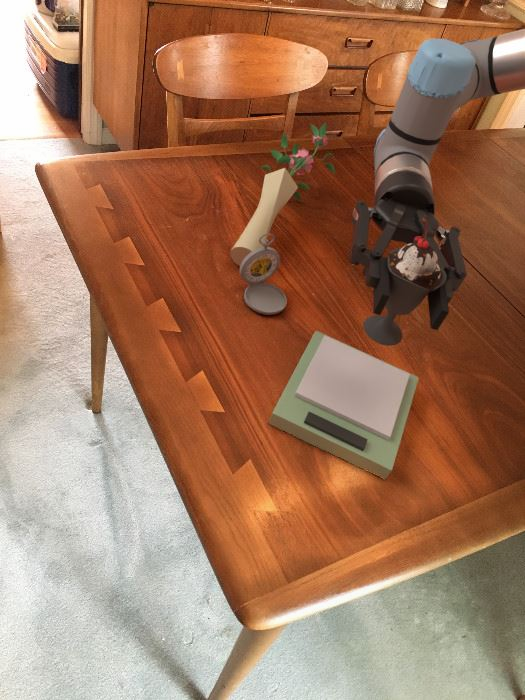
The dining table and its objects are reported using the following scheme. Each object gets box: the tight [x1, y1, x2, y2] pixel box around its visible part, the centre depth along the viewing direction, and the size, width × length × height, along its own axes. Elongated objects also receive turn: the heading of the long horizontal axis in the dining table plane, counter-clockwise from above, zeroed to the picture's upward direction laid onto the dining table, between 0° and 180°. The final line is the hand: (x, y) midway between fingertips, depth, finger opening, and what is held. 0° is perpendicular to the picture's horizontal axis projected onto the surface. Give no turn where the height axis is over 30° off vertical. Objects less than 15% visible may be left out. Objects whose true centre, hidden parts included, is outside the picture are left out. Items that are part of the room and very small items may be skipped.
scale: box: [267, 330, 420, 480], centre depth 74 cm, size 16×17×3 cm
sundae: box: [362, 218, 447, 347], centre depth 62 cm, size 7×7×15 cm
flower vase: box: [229, 122, 337, 267], centre depth 99 cm, size 12×12×35 cm
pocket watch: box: [239, 233, 288, 316], centre depth 83 cm, size 8×8×10 cm
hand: (410, 312), depth 58 cm, fingers closed on sundae, 6 cm apart
